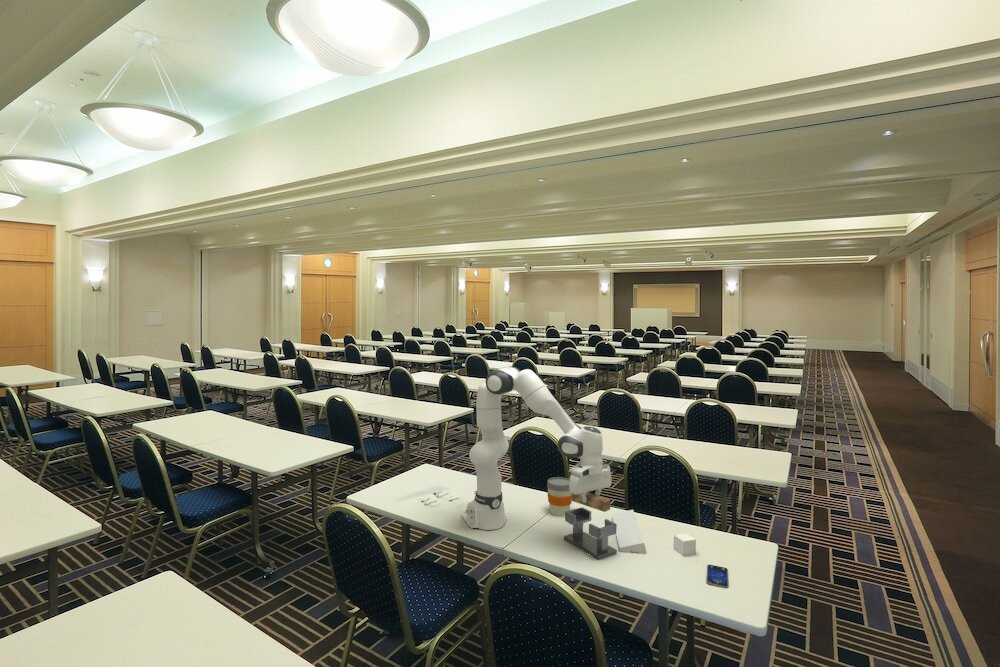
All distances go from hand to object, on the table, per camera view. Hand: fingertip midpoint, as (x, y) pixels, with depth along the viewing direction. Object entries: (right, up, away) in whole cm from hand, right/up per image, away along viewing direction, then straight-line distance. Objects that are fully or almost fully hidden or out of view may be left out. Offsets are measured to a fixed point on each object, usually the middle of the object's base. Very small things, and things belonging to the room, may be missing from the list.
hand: (590, 500), depth 209 cm
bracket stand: (0, -19, +1) cm, 19 cm away
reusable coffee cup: (-8, -17, +36) cm, 41 cm away
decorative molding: (+18, -20, +13) cm, 30 cm away
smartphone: (+43, -21, -22) cm, 52 cm away
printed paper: (-70, -17, +50) cm, 87 cm away
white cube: (+37, -20, -2) cm, 42 cm away
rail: (0, -2, 0) cm, 2 cm away
